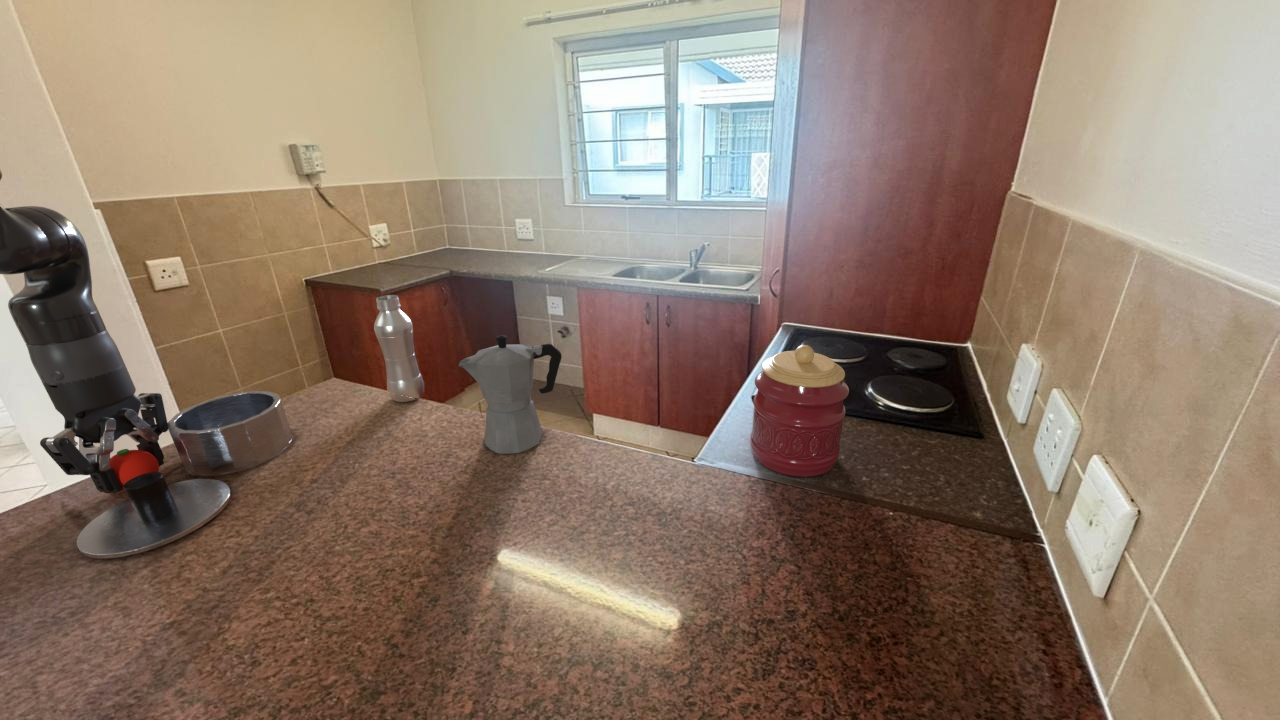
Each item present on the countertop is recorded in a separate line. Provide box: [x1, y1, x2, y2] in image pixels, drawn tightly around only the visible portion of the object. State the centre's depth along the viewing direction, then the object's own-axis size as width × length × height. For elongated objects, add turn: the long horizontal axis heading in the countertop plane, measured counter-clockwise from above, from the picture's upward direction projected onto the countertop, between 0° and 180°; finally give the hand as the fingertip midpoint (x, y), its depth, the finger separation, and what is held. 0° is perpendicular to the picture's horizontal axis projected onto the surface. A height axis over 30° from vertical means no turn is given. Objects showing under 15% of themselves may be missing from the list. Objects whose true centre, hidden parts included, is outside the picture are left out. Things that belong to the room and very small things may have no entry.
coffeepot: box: [458, 334, 563, 455], centre depth 78 cm, size 15×9×18 cm, turn 112°
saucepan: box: [167, 390, 294, 478], centre depth 78 cm, size 14×14×8 cm
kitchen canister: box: [749, 344, 850, 478], centre depth 73 cm, size 13×13×18 cm
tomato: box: [110, 448, 160, 491], centre depth 70 cm, size 6×6×6 cm
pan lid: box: [76, 471, 232, 560], centre depth 63 cm, size 15×15×6 cm
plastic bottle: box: [373, 294, 425, 403], centre depth 92 cm, size 6×7×20 cm
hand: (135, 477), depth 71 cm, fingers closed on tomato, 5 cm apart
